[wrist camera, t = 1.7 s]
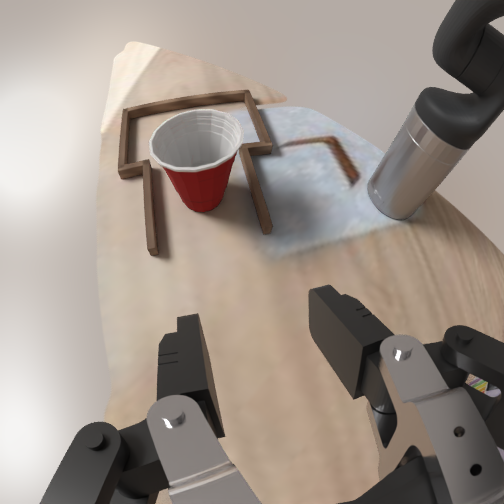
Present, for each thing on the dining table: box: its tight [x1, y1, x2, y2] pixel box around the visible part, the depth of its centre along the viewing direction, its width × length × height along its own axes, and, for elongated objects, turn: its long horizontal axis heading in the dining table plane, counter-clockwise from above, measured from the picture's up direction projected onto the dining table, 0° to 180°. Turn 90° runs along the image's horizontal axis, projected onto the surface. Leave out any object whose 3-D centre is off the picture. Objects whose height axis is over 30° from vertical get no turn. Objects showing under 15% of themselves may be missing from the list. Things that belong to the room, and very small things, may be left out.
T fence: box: [118, 90, 273, 256], centre depth 43 cm, size 24×30×2 cm
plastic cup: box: [149, 109, 244, 212], centre depth 35 cm, size 11×11×12 cm
